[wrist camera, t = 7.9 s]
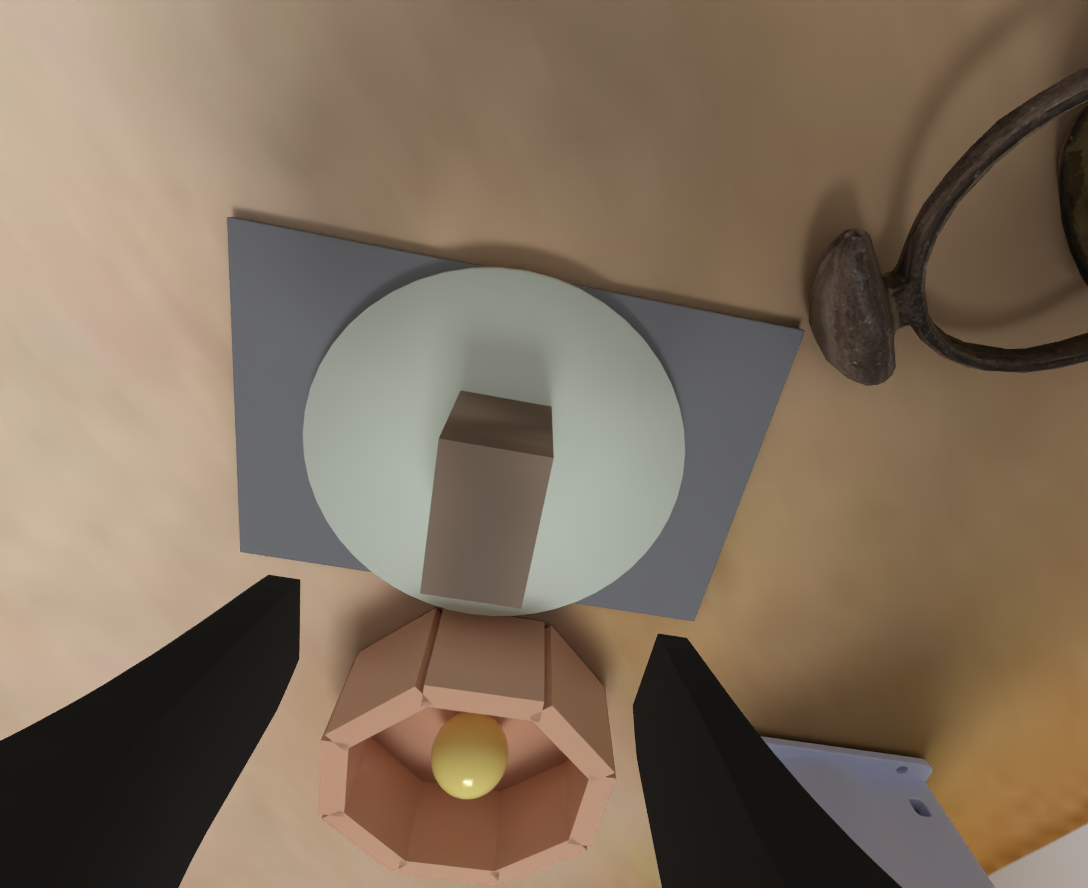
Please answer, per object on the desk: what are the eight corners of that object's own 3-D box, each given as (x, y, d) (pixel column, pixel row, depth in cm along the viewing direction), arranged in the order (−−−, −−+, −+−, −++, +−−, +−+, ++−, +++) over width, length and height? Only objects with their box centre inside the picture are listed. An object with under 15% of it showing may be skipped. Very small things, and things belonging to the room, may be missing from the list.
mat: (799, 328, 18) (804, 331, 17) (691, 614, 22) (694, 621, 22) (234, 217, 16) (227, 217, 16) (245, 545, 21) (240, 551, 21)
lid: (730, 309, 17) (791, 343, 13) (629, 627, 22) (649, 725, 18) (313, 228, 16) (232, 235, 12) (307, 579, 21) (248, 671, 17)
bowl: (623, 633, 23) (639, 714, 19) (570, 801, 27) (574, 894, 23) (360, 593, 22) (323, 670, 18) (348, 774, 26) (316, 865, 23)
